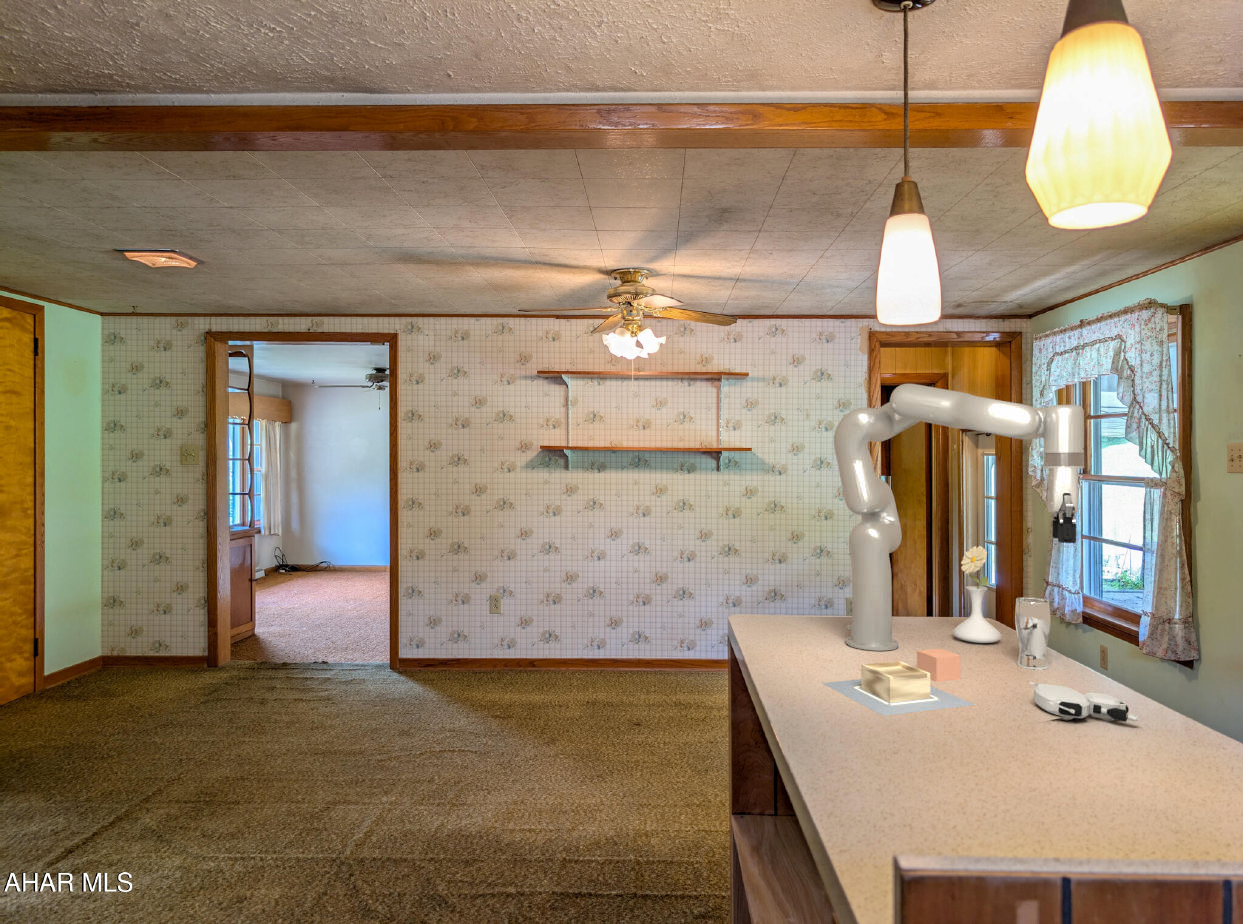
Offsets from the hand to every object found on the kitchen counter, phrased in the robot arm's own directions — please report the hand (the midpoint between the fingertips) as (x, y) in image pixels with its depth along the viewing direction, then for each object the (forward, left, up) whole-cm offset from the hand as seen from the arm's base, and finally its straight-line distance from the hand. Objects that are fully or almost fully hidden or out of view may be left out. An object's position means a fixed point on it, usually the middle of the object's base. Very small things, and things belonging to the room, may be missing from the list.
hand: (1063, 540), depth 157 cm
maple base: (+3, -45, -28) cm, 54 cm away
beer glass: (-7, -1, -29) cm, 30 cm away
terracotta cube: (-4, -29, -29) cm, 42 cm away
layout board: (+3, -45, -29) cm, 54 cm away
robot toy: (+21, -19, -30) cm, 41 cm away
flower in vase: (-29, +4, -29) cm, 41 cm away
